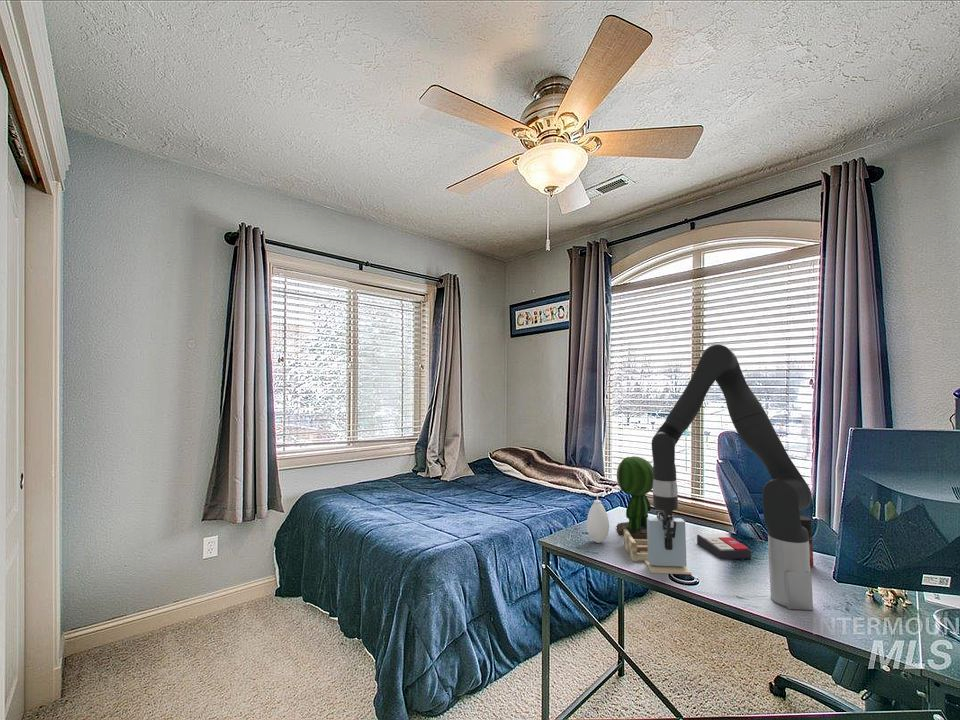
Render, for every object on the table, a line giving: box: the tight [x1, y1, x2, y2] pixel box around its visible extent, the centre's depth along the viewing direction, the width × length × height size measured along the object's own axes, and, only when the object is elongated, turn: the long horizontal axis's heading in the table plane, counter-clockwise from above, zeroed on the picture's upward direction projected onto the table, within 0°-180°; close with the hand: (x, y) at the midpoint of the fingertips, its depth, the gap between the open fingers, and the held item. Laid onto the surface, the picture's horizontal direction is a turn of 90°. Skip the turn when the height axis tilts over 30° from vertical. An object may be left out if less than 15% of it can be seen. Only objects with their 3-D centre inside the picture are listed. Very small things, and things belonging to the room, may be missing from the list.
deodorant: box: [800, 514, 814, 567], centre depth 147 cm, size 6×6×15 cm
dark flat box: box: [696, 532, 752, 560], centre depth 159 cm, size 11×4×15 cm
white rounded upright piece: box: [586, 493, 610, 544], centre depth 168 cm, size 8×8×18 cm
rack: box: [623, 529, 648, 563], centre depth 156 cm, size 15×16×6 cm
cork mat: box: [643, 560, 692, 575], centre depth 144 cm, size 9×12×1 cm
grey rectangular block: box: [647, 517, 688, 568], centre depth 144 cm, size 4×11×14 cm, turn 84°
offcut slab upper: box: [636, 545, 648, 553], centre depth 155 cm, size 3×9×2 cm
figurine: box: [615, 456, 653, 539], centre depth 179 cm, size 17×20×30 cm
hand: (666, 546), depth 144 cm, fingers closed on grey rectangular block, 3 cm apart
